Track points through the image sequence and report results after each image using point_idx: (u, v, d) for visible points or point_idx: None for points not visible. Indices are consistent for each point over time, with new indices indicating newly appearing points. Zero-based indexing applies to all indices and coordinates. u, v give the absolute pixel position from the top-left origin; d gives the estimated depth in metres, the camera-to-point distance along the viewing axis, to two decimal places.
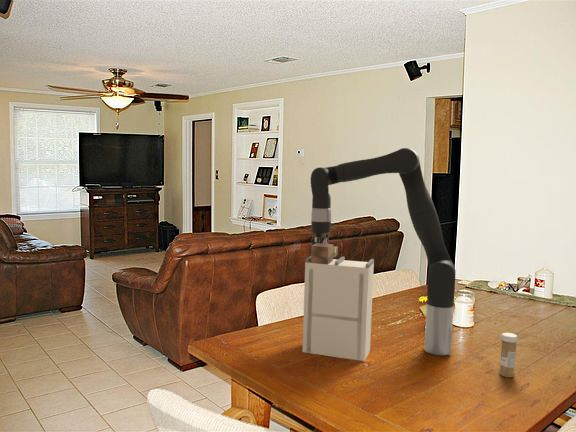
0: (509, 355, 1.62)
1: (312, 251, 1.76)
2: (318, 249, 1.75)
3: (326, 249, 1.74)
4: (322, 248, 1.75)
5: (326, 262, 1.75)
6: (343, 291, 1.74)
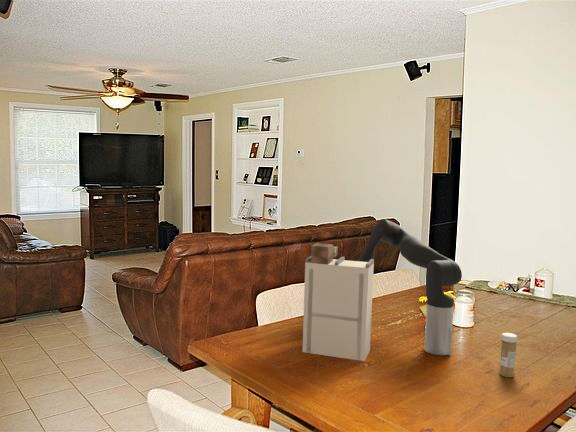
0: (509, 355, 1.62)
1: (312, 251, 1.76)
2: (318, 249, 1.75)
3: (326, 249, 1.74)
4: (322, 248, 1.75)
5: (326, 262, 1.75)
6: (343, 291, 1.74)
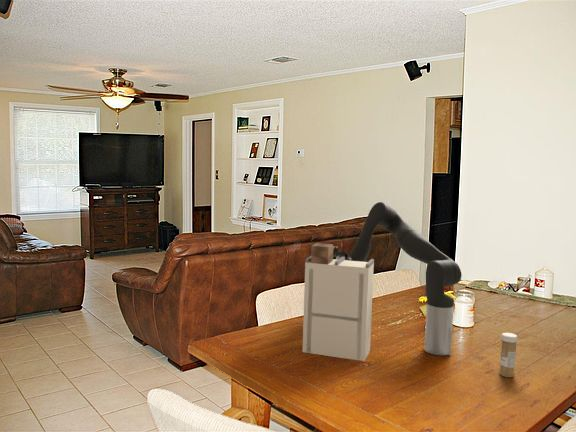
0: (509, 355, 1.62)
1: (312, 251, 1.76)
2: (318, 249, 1.75)
3: (326, 249, 1.74)
4: (322, 248, 1.75)
5: (326, 262, 1.75)
6: (343, 291, 1.74)
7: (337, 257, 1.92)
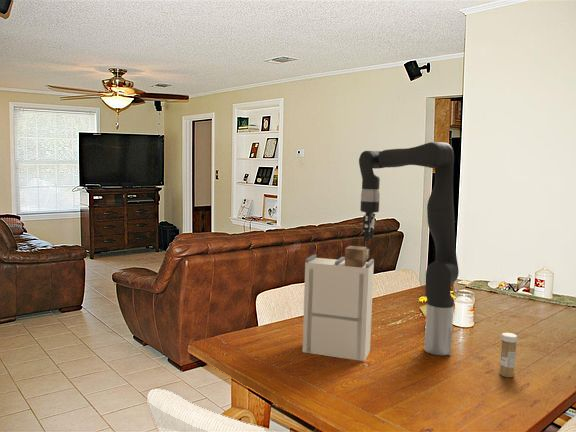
0: (509, 355, 1.62)
1: (346, 254, 1.72)
2: (352, 252, 1.71)
3: (361, 252, 1.70)
4: (356, 251, 1.71)
5: (361, 265, 1.71)
6: (343, 291, 1.74)
7: None
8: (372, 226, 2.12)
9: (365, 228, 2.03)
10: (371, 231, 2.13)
